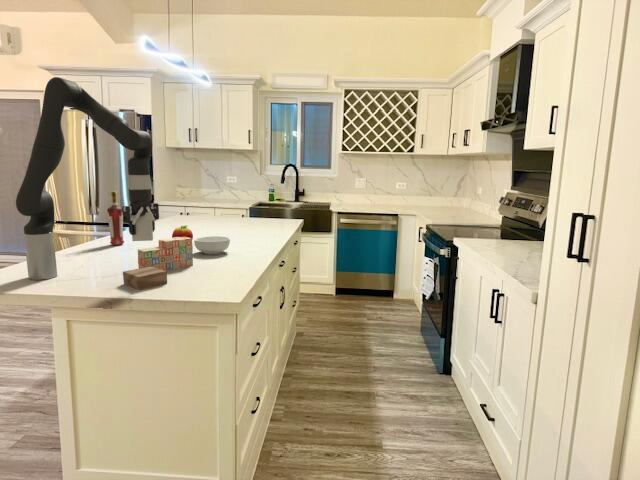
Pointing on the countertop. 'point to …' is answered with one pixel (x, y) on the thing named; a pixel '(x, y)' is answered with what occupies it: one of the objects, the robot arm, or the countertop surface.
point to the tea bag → (144, 228)
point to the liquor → (115, 221)
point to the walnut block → (145, 277)
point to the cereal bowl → (212, 244)
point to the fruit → (182, 232)
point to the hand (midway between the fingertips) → (142, 233)
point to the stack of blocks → (167, 254)
